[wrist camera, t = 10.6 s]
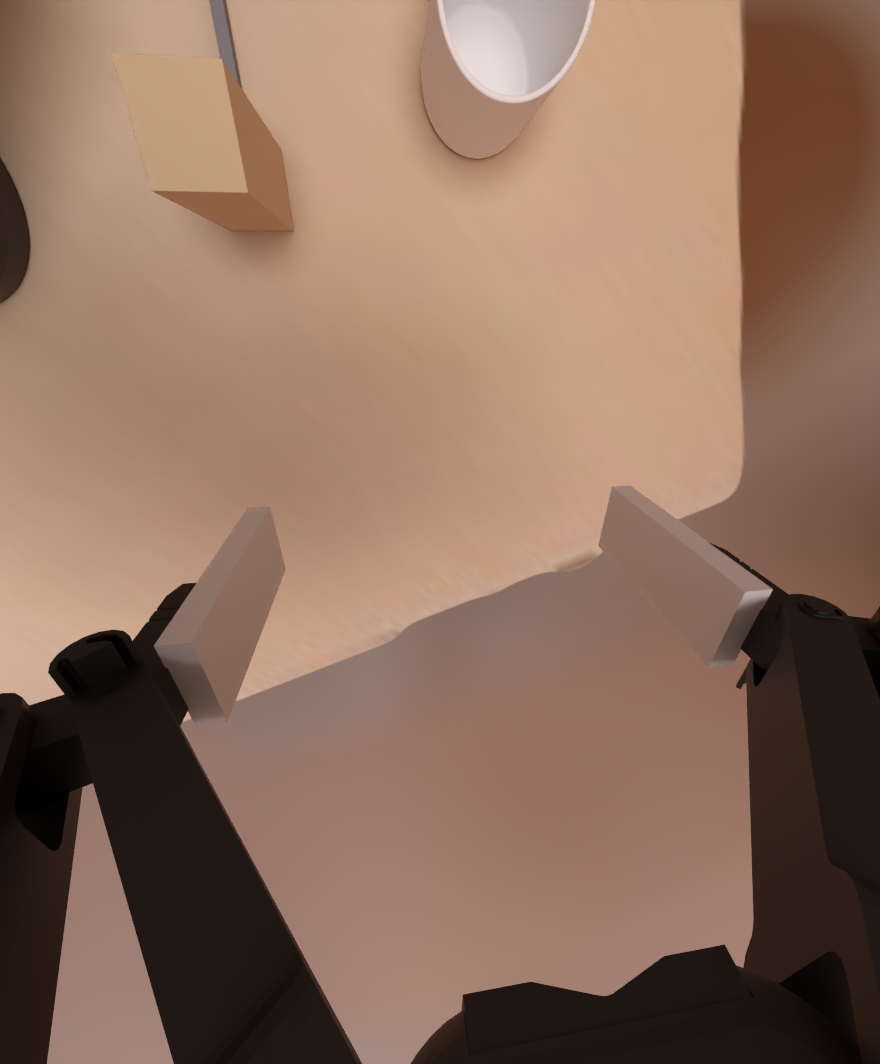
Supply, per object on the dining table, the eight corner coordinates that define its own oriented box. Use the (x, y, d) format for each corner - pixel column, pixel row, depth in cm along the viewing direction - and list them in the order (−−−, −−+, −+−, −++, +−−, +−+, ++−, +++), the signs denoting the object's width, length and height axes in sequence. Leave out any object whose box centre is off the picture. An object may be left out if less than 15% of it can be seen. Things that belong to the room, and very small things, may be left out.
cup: (449, 185, 31) (475, 136, 22) (370, -41, 25) (361, -231, 16) (546, 125, 30) (614, 49, 21) (488, -125, 24) (548, -378, 15)
